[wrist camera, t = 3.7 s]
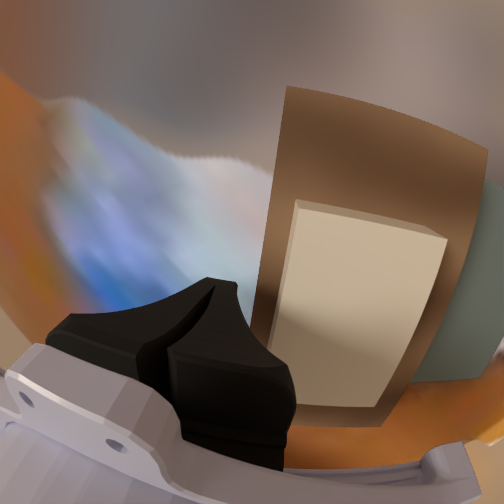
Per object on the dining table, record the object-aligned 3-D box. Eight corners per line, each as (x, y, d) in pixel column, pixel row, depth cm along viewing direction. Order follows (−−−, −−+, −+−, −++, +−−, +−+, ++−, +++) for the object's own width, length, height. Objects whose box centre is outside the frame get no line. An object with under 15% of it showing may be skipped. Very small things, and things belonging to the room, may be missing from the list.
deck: (370, 388, 19) (380, 426, 15) (242, 376, 19) (234, 417, 16) (448, 147, 13) (488, 149, 9) (285, 103, 13) (286, 85, 10)
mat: (478, 376, 18) (479, 377, 18) (374, 379, 19) (375, 382, 18) (544, 210, 13) (546, 211, 12) (446, 163, 13) (448, 163, 13)
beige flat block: (366, 381, 14) (374, 406, 12) (261, 371, 14) (258, 399, 12) (425, 226, 11) (447, 239, 9) (295, 198, 11) (298, 208, 9)
